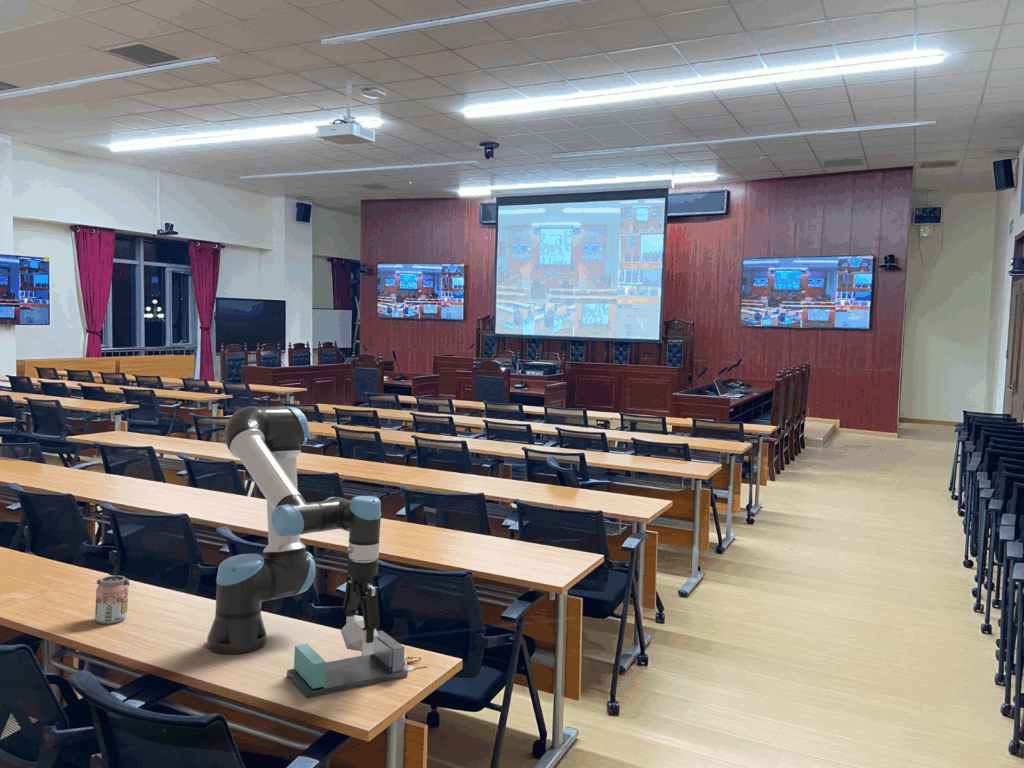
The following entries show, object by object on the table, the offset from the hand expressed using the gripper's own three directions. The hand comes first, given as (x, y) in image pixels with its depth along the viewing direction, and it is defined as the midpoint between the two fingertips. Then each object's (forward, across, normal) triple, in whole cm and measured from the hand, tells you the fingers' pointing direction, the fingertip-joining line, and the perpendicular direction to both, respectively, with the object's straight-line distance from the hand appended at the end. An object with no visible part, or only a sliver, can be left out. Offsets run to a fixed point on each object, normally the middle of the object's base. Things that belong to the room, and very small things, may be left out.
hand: (358, 647), depth 185 cm
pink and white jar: (+6, -67, -46) cm, 82 cm away
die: (0, 0, 0) cm, 0 cm away
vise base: (+7, 0, -2) cm, 7 cm away
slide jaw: (+5, 0, -12) cm, 13 cm away
